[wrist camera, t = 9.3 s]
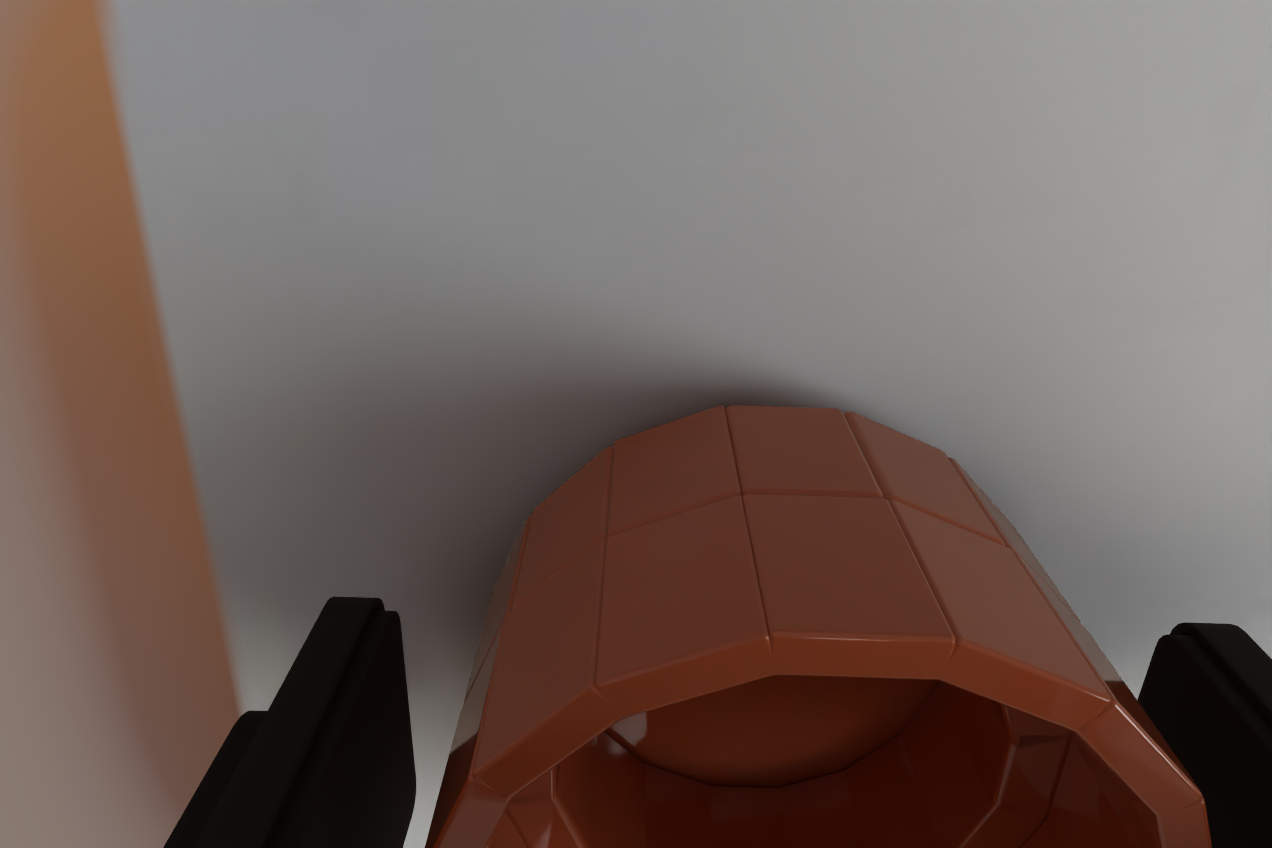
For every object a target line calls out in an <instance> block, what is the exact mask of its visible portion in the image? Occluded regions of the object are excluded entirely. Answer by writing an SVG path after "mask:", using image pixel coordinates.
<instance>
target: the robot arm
mask: <svg viewBox="0 0 1272 848" xmlns="http://www.w3.org/2000/svg"><path fill="white" fill-rule="evenodd" d="M1137 701H1138V703H1139V704H1140V705H1141V707H1142V708H1143V710H1144V711H1145V712H1146V714H1147V715H1148V717H1149V718H1150V720H1151V721H1152V722H1153V724H1154V725H1155V727H1156V728H1157V729H1158V731H1159V732H1160V734H1161V735H1162V737H1163V738H1164V739H1165V741H1166V742H1167V744H1168V745H1169V746H1170V748H1171V749H1172V751H1173V752H1174V754H1175V755H1176V756H1177V758H1178V759H1179V761H1180V762H1181V763H1182V765H1183V766H1184V768H1185V769H1186V771H1187V772H1188V773H1189V775H1190V776H1191V778H1192V779H1193V780H1194V782H1195V783H1196V785H1197V786H1198V788H1199V789H1200V790H1201V794H1202V796H1203V797H1204V799H1205V804H1206V811H1207V817H1208V824H1209V830H1210V836H1211V843H1212V848H1272V659H1271V658H1270V657H1269V656H1268V655H1267V654H1266V653H1265V652H1264V651H1263V650H1262V649H1261V648H1260V647H1259V646H1258V645H1257V644H1256V643H1255V642H1254V641H1253V639H1252V638H1251V637H1250V636H1249V635H1248V634H1247V633H1246V632H1245V631H1243V630H1242V629H1241V628H1240V627H1238V626H1236V625H1232V624H1215V623H1181V624H1178V625H1177V626H1175V627H1174V628H1173V629H1172V631H1171V633H1170V635H1164V636H1162V637H1161V638H1160V639H1159V640H1158V642H1157V644H1156V647H1155V650H1154V653H1153V656H1152V659H1151V662H1150V665H1149V668H1148V671H1147V674H1146V677H1145V680H1144V683H1143V686H1142V688H1141V691H1140V694H1139V697H1138V700H1137ZM415 796H416V774H415V764H414V754H413V744H412V734H411V723H410V713H409V703H408V693H407V683H406V673H405V663H404V653H403V642H402V632H401V622H400V616H399V614H398V612H396V611H385V608H384V604H383V602H382V600H381V599H380V598H361V597H332V598H329V600H328V601H327V603H326V604H325V606H324V608H323V610H322V611H321V613H320V615H319V617H318V619H317V621H316V622H315V624H314V626H313V628H312V630H311V632H310V634H309V635H308V637H307V639H306V641H305V643H304V645H303V647H302V648H301V650H300V652H299V654H298V656H297V658H296V660H295V661H294V663H293V665H292V667H291V669H290V671H289V672H288V674H287V676H286V678H285V680H284V682H283V684H282V685H281V687H280V689H279V691H278V693H277V695H276V697H275V698H274V700H273V702H272V704H271V706H270V708H269V710H268V711H248V712H246V713H245V714H243V715H241V717H240V718H239V719H238V721H237V722H236V723H235V725H234V726H233V728H232V729H231V731H230V733H229V735H228V736H227V738H226V740H225V742H224V743H223V745H222V747H221V748H220V750H219V752H218V754H217V755H216V757H215V759H214V761H213V762H212V764H211V766H210V768H209V769H208V771H207V773H206V775H205V776H204V778H203V780H202V781H201V783H200V785H199V787H198V788H197V790H196V792H195V794H194V795H193V797H192V799H191V801H190V802H189V804H188V806H187V808H186V809H185V811H184V813H183V815H182V816H181V818H180V820H179V821H178V823H177V825H176V827H175V828H174V830H173V832H172V834H171V835H170V837H169V839H168V840H167V842H166V844H165V846H164V848H403V845H404V841H405V838H406V834H407V831H408V828H409V824H410V821H411V817H412V813H413V809H414V804H415Z"/></svg>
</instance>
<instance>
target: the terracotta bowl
mask: <svg viewBox="0 0 1272 848" xmlns="http://www.w3.org/2000/svg"><path fill="white" fill-rule="evenodd" d="M425 848H1212V843H1211V836H1210V830H1209V824H1208V817H1207V811H1206V804H1205V799H1204V797H1203V796H1202V794H1201V790H1200V789H1199V788H1198V786H1197V785H1196V783H1195V782H1194V780H1193V779H1192V778H1191V776H1190V775H1189V773H1188V772H1187V771H1186V769H1185V768H1184V766H1183V765H1182V763H1181V762H1180V761H1179V759H1178V758H1177V756H1176V755H1175V754H1174V752H1173V751H1172V749H1171V748H1170V746H1169V745H1168V744H1167V742H1166V741H1165V739H1164V738H1163V737H1162V735H1161V734H1160V732H1159V731H1158V729H1157V728H1156V727H1155V725H1154V724H1153V722H1152V721H1151V720H1150V718H1149V717H1148V715H1147V714H1146V712H1145V711H1144V710H1143V708H1142V707H1141V705H1140V704H1139V703H1138V701H1137V700H1136V698H1135V697H1134V695H1133V694H1132V693H1131V691H1130V690H1129V688H1128V687H1127V686H1126V684H1125V683H1124V681H1123V680H1122V678H1121V677H1120V676H1119V674H1118V673H1117V671H1116V670H1115V669H1114V667H1113V666H1112V664H1111V663H1110V661H1109V660H1108V659H1107V657H1106V656H1105V654H1104V653H1103V652H1102V650H1101V649H1100V647H1099V646H1098V644H1097V643H1096V642H1095V640H1094V639H1093V637H1092V636H1091V635H1090V633H1089V632H1088V631H1087V630H1086V629H1085V628H1084V626H1083V625H1082V624H1081V622H1080V620H1079V618H1078V617H1077V615H1076V614H1075V613H1074V611H1073V610H1072V608H1071V607H1070V606H1069V604H1068V603H1067V601H1066V600H1065V598H1064V597H1063V596H1062V594H1061V593H1060V591H1059V590H1058V589H1057V587H1056V586H1055V584H1054V583H1053V581H1052V580H1051V579H1050V577H1049V576H1048V574H1047V573H1046V571H1045V570H1044V569H1043V567H1042V566H1041V564H1040V563H1039V562H1038V560H1037V559H1036V557H1035V556H1034V554H1033V553H1032V552H1031V550H1030V549H1029V547H1028V546H1027V545H1026V543H1025V542H1024V540H1023V539H1022V537H1021V536H1020V535H1019V533H1018V532H1017V530H1016V529H1015V527H1014V526H1013V525H1012V523H1011V522H1010V521H1009V520H1008V519H1007V518H1006V516H1005V515H1004V514H1003V513H1002V512H1001V511H1000V510H999V509H998V507H997V506H996V505H995V504H994V503H993V502H992V501H991V500H990V498H989V497H988V496H987V495H986V494H985V493H984V492H983V491H982V490H981V488H980V487H979V486H978V485H977V484H976V483H975V482H974V481H973V479H972V478H971V477H970V476H969V475H968V474H967V473H966V472H965V470H964V469H963V468H962V467H961V466H960V465H959V464H958V463H957V461H956V460H955V459H953V458H950V457H948V456H947V455H946V454H945V453H944V452H943V451H942V450H940V449H937V448H935V447H933V446H930V445H928V444H926V443H924V442H921V441H919V440H917V439H914V438H912V437H910V436H907V435H905V434H903V433H900V432H898V431H896V430H893V429H891V428H889V427H887V426H884V425H882V424H880V423H877V422H875V421H873V420H870V419H868V418H866V417H863V416H861V415H859V414H856V413H854V412H848V411H846V412H845V413H844V412H843V411H842V410H840V409H837V408H810V407H777V406H745V405H731V406H727V408H726V409H725V408H724V407H723V406H716V407H713V408H710V409H707V410H704V411H702V412H699V413H696V414H693V415H690V416H687V417H684V418H681V419H678V420H675V421H672V422H669V423H666V424H663V425H660V426H657V427H654V428H651V429H648V430H645V431H642V432H640V433H637V434H634V435H631V436H628V437H625V438H622V439H619V440H616V441H615V442H614V443H613V446H612V445H611V446H609V447H606V448H605V449H604V450H603V451H601V452H600V453H599V454H598V455H597V456H596V457H594V458H593V459H592V460H591V461H590V462H588V463H587V464H586V465H585V466H584V467H583V468H581V469H580V470H579V471H578V472H577V473H576V474H574V475H573V476H572V477H571V478H570V479H569V480H567V481H566V482H565V483H564V484H563V485H561V486H560V487H559V488H558V489H557V490H556V491H554V492H553V493H552V494H551V495H550V496H549V497H547V498H546V499H545V500H544V501H543V502H541V503H540V504H539V505H538V506H537V507H536V508H534V510H533V512H532V515H531V516H530V517H528V518H527V519H526V521H525V523H524V525H523V527H522V529H521V532H520V534H519V536H518V538H517V540H516V542H515V545H514V547H513V549H512V551H511V553H510V555H509V558H508V560H507V562H506V564H505V566H504V568H503V571H502V573H501V575H500V577H499V579H498V581H497V584H496V586H495V588H494V590H493V592H492V595H491V599H490V603H489V607H488V611H487V614H486V618H485V622H484V626H483V630H482V634H481V637H480V641H479V645H478V649H477V653H476V657H475V660H474V664H473V668H472V672H471V676H470V680H469V683H468V687H467V691H466V695H465V699H464V703H463V707H462V710H461V712H460V715H459V719H458V723H457V727H456V731H455V735H454V738H453V742H452V746H451V750H450V754H449V757H448V761H447V765H446V769H445V773H444V777H443V780H442V784H441V788H440V792H439V796H438V800H437V803H436V807H435V811H434V815H433V819H432V822H431V826H430V830H429V834H428V838H427V842H426V845H425Z"/></svg>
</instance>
